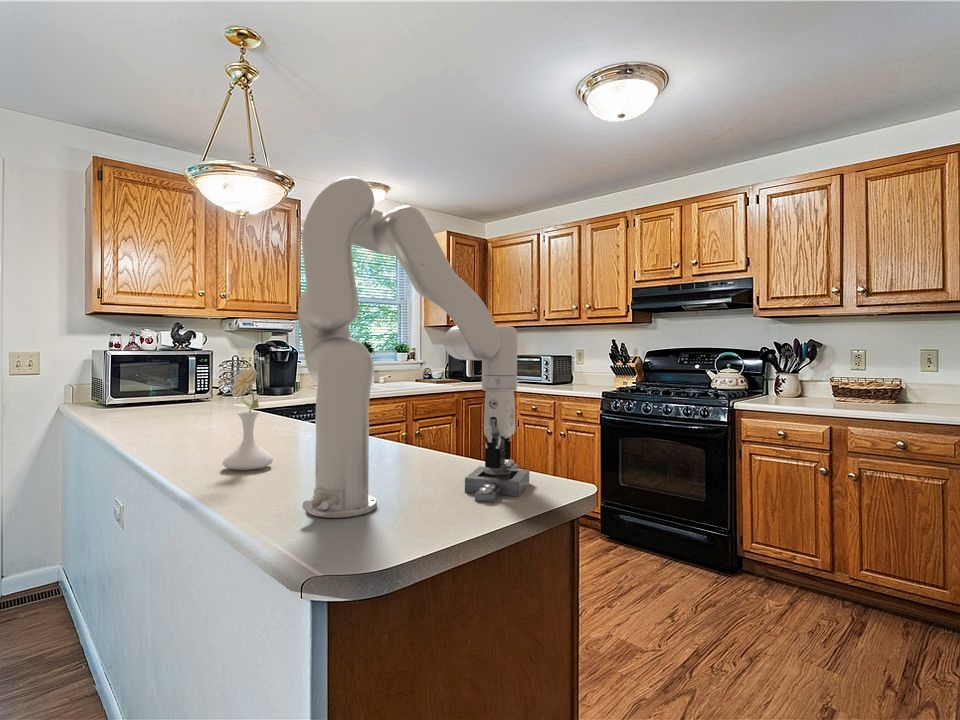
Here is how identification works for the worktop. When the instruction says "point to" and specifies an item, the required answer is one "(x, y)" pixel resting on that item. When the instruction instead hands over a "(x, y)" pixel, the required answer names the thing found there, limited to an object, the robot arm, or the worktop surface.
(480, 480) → the frame
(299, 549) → the worktop surface
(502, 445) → the salt shaker
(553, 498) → the worktop surface
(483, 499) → the chain end near
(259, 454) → the flower in vase
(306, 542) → the worktop surface
